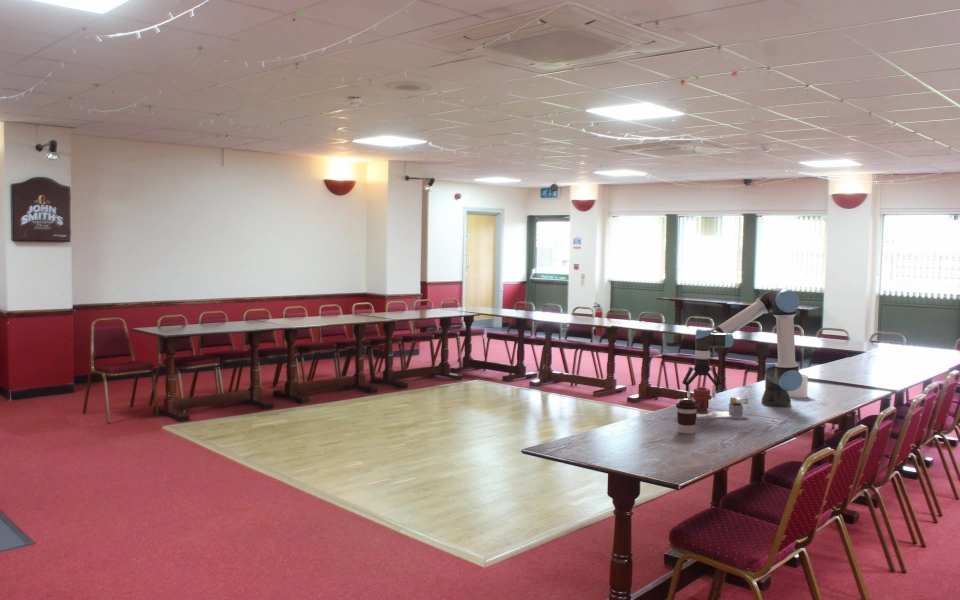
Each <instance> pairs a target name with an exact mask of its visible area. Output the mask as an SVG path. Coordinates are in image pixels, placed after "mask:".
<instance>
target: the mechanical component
mask: <svg viewBox="0 0 960 600" xmlns="http://www.w3.org/2000/svg"><path fill="white" fill-rule="evenodd" d="M691 398H694V400H695V404H697V405H698V408H697V410H696V411H698V412H706V411H707V410H708V409H709V406H710V404H709V401H710V400H711V399H712V398H713V397H712V394H711V390H710V388H707V387H706V386H699V387H697V388H694V389H693V394H692V395H691Z"/></svg>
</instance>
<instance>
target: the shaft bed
mask: <svg viewBox="0 0 960 600" xmlns="http://www.w3.org/2000/svg"><path fill="white" fill-rule="evenodd" d="M680 400H692V401H694V402H695V399H694V398H692V397H690V398H677V400H676V401H677V402H676V404H677V403H679V401H680ZM748 404H749V398H747V397H740V398H739V397H737V398H735V396H731V397H730V399H729V404H728V411H703V412H701V411H696V412H697V416H696V420H713V419H714V420H719V419H720V420H722V419H723V420H724V419H726V420H727V419H730V420H731V419H745V417H746V416H744V415H743V413H744V412H743V410H744V406H743V405H748Z"/></svg>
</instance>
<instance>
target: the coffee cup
mask: <svg viewBox="0 0 960 600" xmlns="http://www.w3.org/2000/svg"><path fill="white" fill-rule="evenodd" d="M675 407H676V409H677V411H676V412H677V413H676V414H677V424H678V425H677V426H678V432H679V433H680V434H686V435H693V434H694V433H696V432H695V431H696V424H697V419H696V416H697V412H698V410H697V408H698V405H697V404H695V402H694V401H692V400H680V401H679V403H677V402H676V403H675Z"/></svg>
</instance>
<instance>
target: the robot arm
mask: <svg viewBox="0 0 960 600" xmlns="http://www.w3.org/2000/svg"><path fill="white" fill-rule="evenodd" d="M799 306H800V298H799V296H798V294H797V293H796V292H795V291H793V290H791V289H788V288H786V289H785V288H773V289H770V290H769V291H767V292H765V293H764V294H762V295H760V296H759V297H758V298H756V299H755V301H754V302H753V303H752V304H750V305H749V306H747V307H745V308H744V309H743V310H740V311H739V312H738V313H736V314H734V315H733V316H732V317H730V318H728V319H727V320H725V321H724V322H723V323H720V324H719V325H717V326H716V327H714V328H713V329H708V328H698V329H696V331H695V338H694V339H695V342H694V343H695V348H694V349H695V350H694V351H695V352H694V357H695V358H694V366H693V367H692V366H688V369H687V372H686V375H685V376H684V378H683V380H682V385H685V391H686V393H687V395H686V398H687V399H690V398H691V384H692V382H693V381H694V380H695V379H696V377H698V376H701V377H702V376H703V377H704V376H705V377H706V376H707V377H708V379H709V380H710V381H711V383H712V386H711V387H712V392H711V396H712V398H713V399H715V398H716V392H718V386H719V385H722V382H721V379H720V377H719V375H718V374H717V371H716V367H715V366H712V367H710V357H711V355H710V354H711V353H710V352H711V348H731V347H733V345H734V336H733V333H735V332H737V331H738V330H740V329H742V328H744V327H745V326H746V325H748V324H750V323H751V322H753V321H754V320H756V319H757V318H759V317H761V316H762V315H763V314H769V313H770V312H772V315H773V316H774V317H775V318H776V319H775V321H776V322H775V323H776V343H777V346H776V348H777V362H767V363H765V372H764V373H765V377H764V379H765V380H764V381H765V383H764V388H765V389H764V392H763V395H762V397H761V404H762V405H764V406H769V407H779V408H781V407H785V408H786V407H790V406H792V399H791V397H789V394H788V391H795V390H797V389H798V388H799V387H800V386H801V385H802V382H803V378H802V375H803V374H802V373H801V372H800V370H799V369H800V368H799V367H800V366H799V364H798V363H797V362H796V347H795V326H794V325H795V322H794V318H795V317H796V315H797V309H798V308H799ZM693 371H694V372H693ZM710 371H711V372H712V375H713V376H714V377H713V376H712V375H711V374H710V373H709V372H710ZM692 373H693V374H692ZM801 374H802V375H801Z"/></svg>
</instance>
